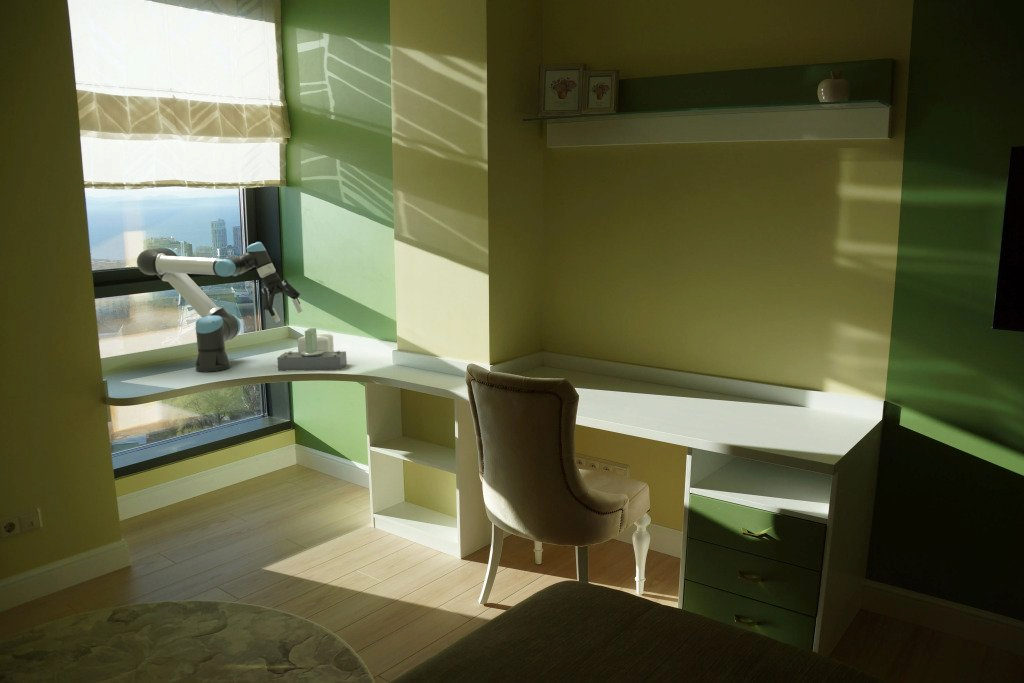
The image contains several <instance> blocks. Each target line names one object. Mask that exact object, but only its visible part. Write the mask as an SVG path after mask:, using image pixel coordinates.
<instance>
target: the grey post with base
mask: <svg viewBox="0 0 1024 683" xmlns="http://www.w3.org/2000/svg"><path fill="white" fill-rule="evenodd" d="M316 333H317V328H316V327H313V328H311V327H309V328H308V329H306V330H304V335H305V342H306V351H302V352H301V355H303V356H319V355H321V354H323V351H322V350H318V349H317V334H316Z"/></svg>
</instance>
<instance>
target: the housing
mask: <svg viewBox="0 0 1024 683" xmlns="http://www.w3.org/2000/svg"><path fill="white" fill-rule="evenodd" d="M347 363H348V362H347V351H340V350H336V351H334V352H323V354H321V355H319V356H303V355H301V352H298V351H294V352H293V351H289V350H288V351H287V352H284V353H282V354H281V355H279V356H278V357H277V370H278V372H284V371H285V372H287V371H286V370H304V371H341V370H343V368H345V367H346V366H347V365H348V364H347Z"/></svg>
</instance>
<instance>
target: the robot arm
mask: <svg viewBox="0 0 1024 683" xmlns="http://www.w3.org/2000/svg"><path fill="white" fill-rule="evenodd" d="M136 265H137V268H138V269H139V271H140V272H141V273H143V274H144V275H147V276H155V275H156V276H158V278H159V279H160V280H161V281H163V282H168V283H169V285H171V287H172V288H174V290H175V291H176V292H177V293H178V294H179V295H180V296H181V298H183V299H184V300H185V301H186V302H187V304H188V305H189V306H191V308H192V309H193V310H194V311H195V312H196V313H197V314H198V315H199V316H200V317H199V318H198V319H197V320H196V321H195V326H194V328H195V335H196V336H195V337H196V343H197V344H196V345H197V355H196V356H197V357H196V361H195V365H194V367H195V371H196V370H197V372H200V371H213V372H219V371H218V370H221V371H224V370H223V369H225V370H228V369H230V368H231V366H232V365H231V361H230V358H229V356H228V354H227V352H226V343H225V342H226V341H229V340H233V339H234V338H236V337H238V335H239V333H240V332H241V326H242V325H241V322H240V319H239V318H238V316H236V315H235V314H233V313H228V312H227V310H225V308H223V307H222V306H221V307H220V306H217V305H216V304H215V302H214V301H213V300H212V299H211V297H209V296H208V295H207V294H206V293H205V292H204V291H203V290H202V289H201V288H200V287H199V285H197V283H196V282H195V281H194V280H193V279H192V278H191V277H190V276H189V275H188V274H190V275H210V276H211V275H212V276H213V275H214V276H220V277H225V278H226V277H230V276H232V277H237V276H241V275H242V274H244V273H246V272H248V271H249V270H252V269H253V268H256V271H257V273H258V275H259V277H260V278H261V281H262V283H263V285H264V286H265V287H264V288H261V289H260V292H261V293H262V308H263V310H264V311H268V312H269V314H270V316H271V317H272V318H273V319H274V321H275V323H279V322H280V321H281V319H280V316H279V315H278V312H277V311H276V308H275V307H273V306H274V300H275V296H276V295H277V294H280V293H281V294H283V295H285V296H287V297H289V298H291V299H292V303H293V305H294V307H295V309H296V311H297V313H298V314H299V313H302V312H303V309H302V308H303V307H301V302H300V300H299V299H298V298H299V297H300V296H301V294H300V292H298V291H297V290H296V288H295V287H293V286H292V285H291V284H290V283H289V281H288V280H287V279H284V280H282V281H281V278H280V276H279V274H278V272H276V268H275V265H274V264H273V262H272V260H271V258H270V255H269V253H268V251H267V249H266V248H265V246H264V244H263V243H262V242H261V241H256V242H255V243H251V244H249V245H248V246H247V247H246V252H245V253H242V254H241V255H239V256H238V255H237V256H234V257H229V258H224V257H223V258H221V257H220V258H219V257H217V258H216V257H199V256H181V255H179V254H178V252H177V251H175V250H174V249H173V248H169V247H161V246H160V247H158V248H152V249H150V248H149V249H146V250H143V251H141V252H140V253H139V255H138V256H137V258H136Z"/></svg>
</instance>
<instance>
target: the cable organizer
mask: <svg viewBox="0 0 1024 683" xmlns="http://www.w3.org/2000/svg"><path fill="white" fill-rule="evenodd" d="M316 334H317V349H318V350H322V351H323V352H335V349H334V336H333V334H332V333H327V332H326V333H325V332H324V333H323V332H321V333H317V332H316ZM302 351H306V342H305V334H304V335H303V336H301V337H299V338H298V339H297V352H302Z"/></svg>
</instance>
